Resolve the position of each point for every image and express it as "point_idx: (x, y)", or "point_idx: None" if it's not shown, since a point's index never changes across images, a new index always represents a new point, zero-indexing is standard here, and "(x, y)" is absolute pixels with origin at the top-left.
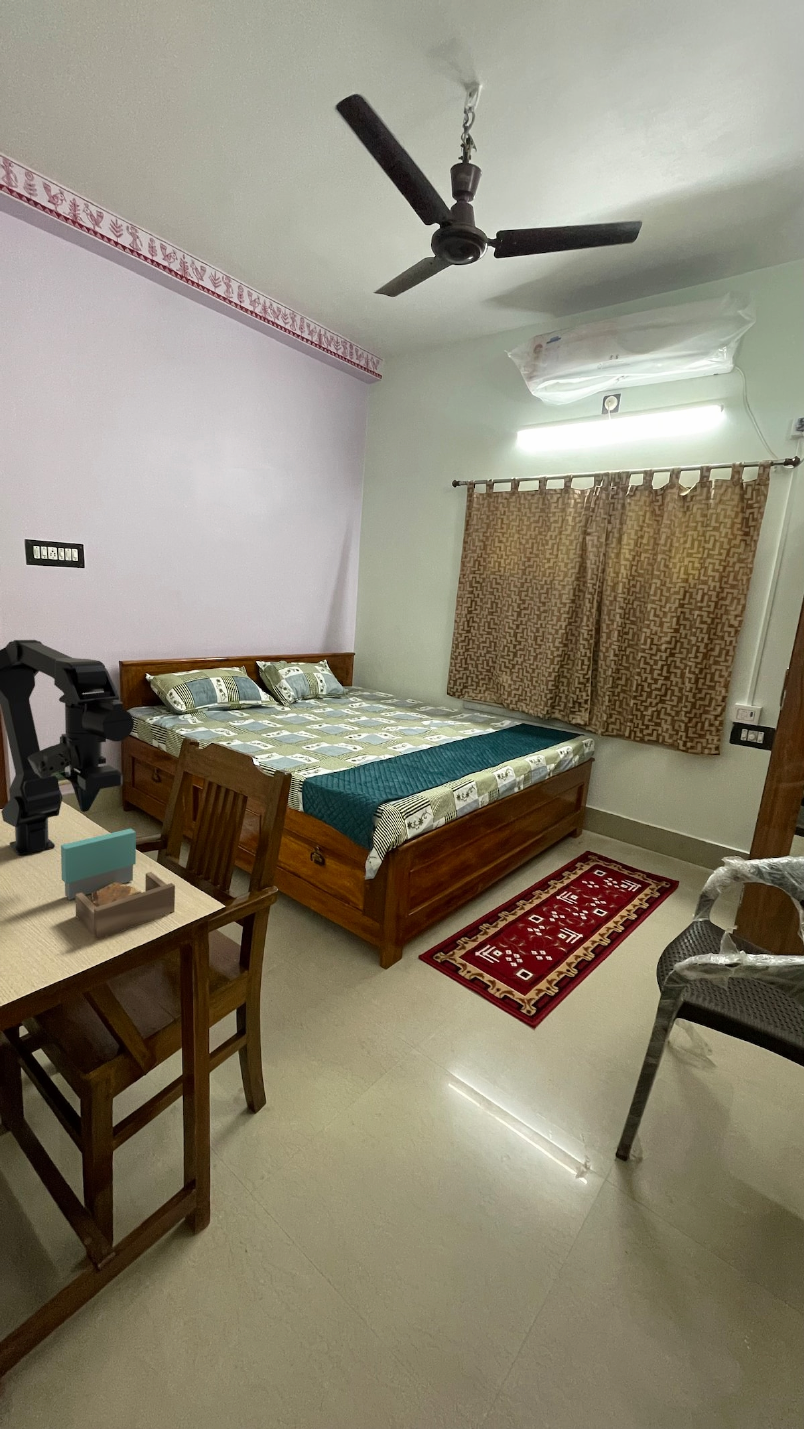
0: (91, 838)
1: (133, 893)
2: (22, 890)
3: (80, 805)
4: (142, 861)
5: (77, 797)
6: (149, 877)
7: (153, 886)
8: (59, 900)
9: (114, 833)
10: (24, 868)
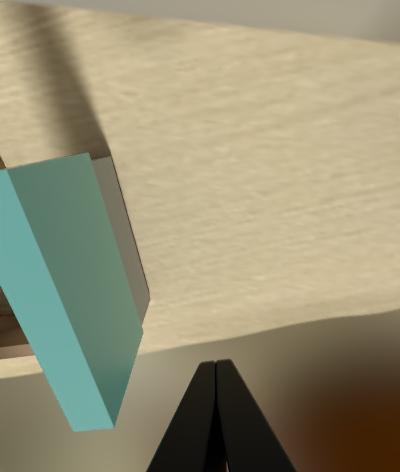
0: (54, 301)
1: None
2: (198, 53)
3: (208, 396)
4: (219, 338)
5: (243, 459)
6: (17, 343)
7: (6, 335)
8: (97, 139)
9: (82, 378)
10: (346, 77)
